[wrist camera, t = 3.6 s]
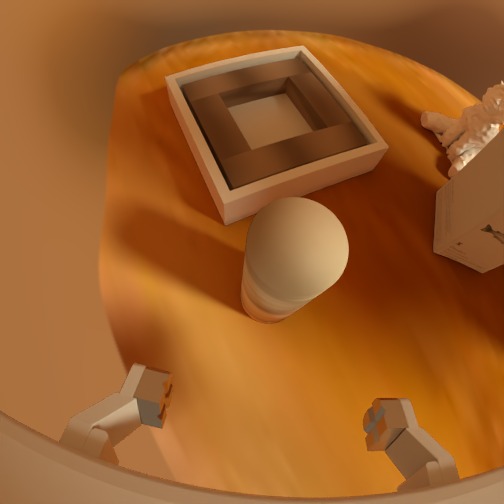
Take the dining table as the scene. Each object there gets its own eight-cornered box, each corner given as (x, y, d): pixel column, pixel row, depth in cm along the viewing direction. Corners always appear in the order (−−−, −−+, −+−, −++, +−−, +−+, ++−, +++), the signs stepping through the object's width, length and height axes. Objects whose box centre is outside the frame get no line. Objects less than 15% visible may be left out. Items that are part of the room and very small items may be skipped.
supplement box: (430, 253, 27) (520, 194, 15) (434, 190, 29) (505, 120, 17) (482, 276, 26) (570, 234, 14) (483, 216, 29) (556, 162, 17)
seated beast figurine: (414, 118, 32) (459, 49, 21) (458, 119, 33) (501, 62, 22) (450, 184, 29) (514, 122, 18) (491, 178, 31) (548, 127, 19)
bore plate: (294, 73, 32) (298, 57, 29) (359, 158, 28) (368, 143, 26) (184, 102, 29) (181, 85, 27) (233, 202, 26) (233, 187, 24)
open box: (297, 70, 33) (303, 45, 29) (373, 170, 29) (389, 147, 25) (170, 103, 30) (164, 76, 26) (225, 225, 26) (223, 204, 22)
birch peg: (281, 259, 26) (318, 184, 14) (305, 309, 24) (365, 269, 13) (231, 281, 25) (229, 218, 13) (254, 333, 24) (274, 313, 12)
